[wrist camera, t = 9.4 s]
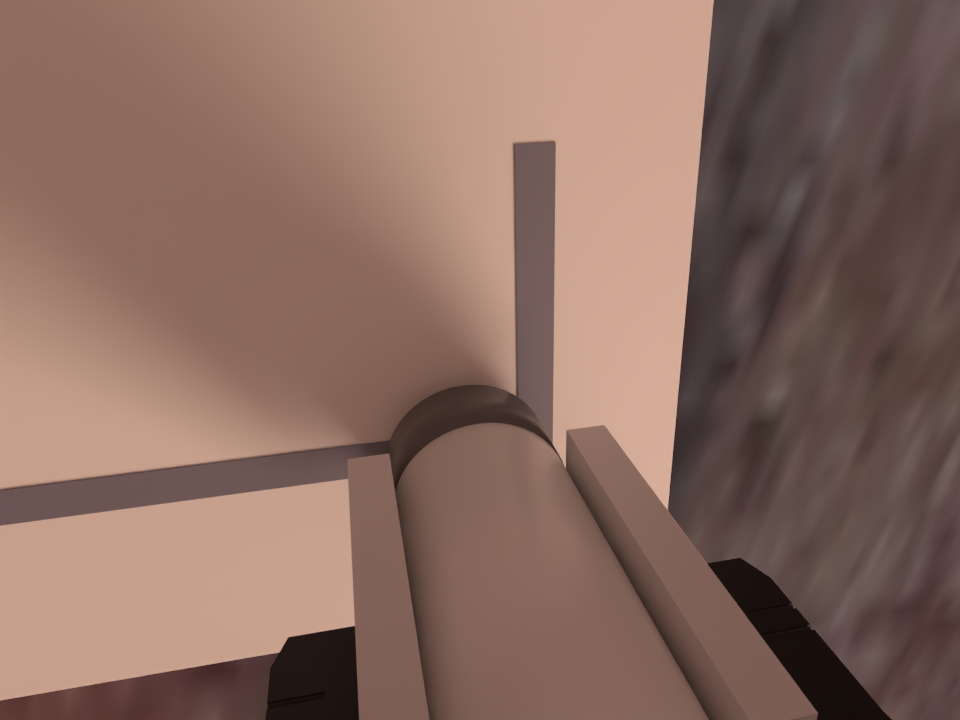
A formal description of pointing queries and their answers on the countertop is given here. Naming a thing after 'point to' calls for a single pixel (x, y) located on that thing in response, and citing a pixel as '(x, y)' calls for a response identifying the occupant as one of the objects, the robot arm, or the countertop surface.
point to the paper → (308, 286)
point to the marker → (518, 575)
